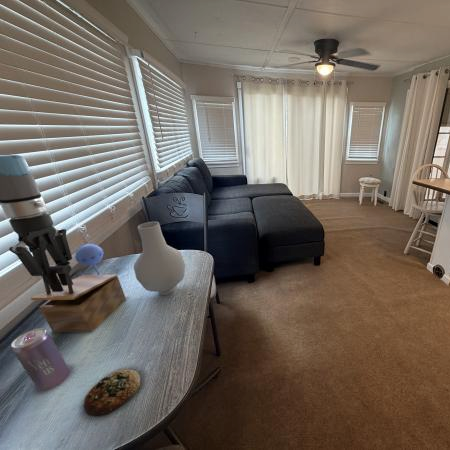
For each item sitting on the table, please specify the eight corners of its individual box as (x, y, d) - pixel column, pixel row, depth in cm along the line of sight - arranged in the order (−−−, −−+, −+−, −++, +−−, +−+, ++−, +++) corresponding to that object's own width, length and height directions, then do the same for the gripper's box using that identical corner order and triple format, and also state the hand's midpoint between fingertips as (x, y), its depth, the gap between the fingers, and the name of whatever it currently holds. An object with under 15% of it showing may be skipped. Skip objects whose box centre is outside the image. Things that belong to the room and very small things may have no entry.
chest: (92, 333, 75) (79, 306, 71) (53, 334, 75) (38, 307, 71) (126, 300, 90) (117, 276, 85) (94, 301, 90) (83, 276, 86)
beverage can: (70, 366, 65) (46, 323, 59) (71, 381, 61) (46, 337, 55) (39, 381, 61) (11, 337, 55) (38, 398, 57) (8, 353, 51)
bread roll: (76, 429, 51) (70, 410, 49) (96, 386, 61) (91, 370, 59) (137, 407, 55) (133, 389, 54) (147, 370, 65) (143, 355, 63)
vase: (148, 310, 84) (123, 239, 74) (139, 289, 96) (117, 225, 85) (195, 290, 94) (180, 224, 84) (182, 273, 106) (167, 213, 95)
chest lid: (73, 299, 69) (65, 268, 67) (31, 300, 69) (22, 269, 68) (117, 276, 85) (112, 250, 83) (83, 276, 86) (77, 251, 84)
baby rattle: (103, 289, 96) (87, 250, 90) (82, 290, 97) (64, 250, 90) (119, 277, 104) (105, 240, 98) (99, 277, 105) (84, 240, 98)
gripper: (8, 225, 57) (49, 305, 65) (69, 206, 71) (96, 273, 80) (-22, 225, 57) (23, 305, 65) (45, 206, 71) (74, 273, 80)
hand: (63, 287), depth 72 cm, fingers closed on chest lid, 2 cm apart
